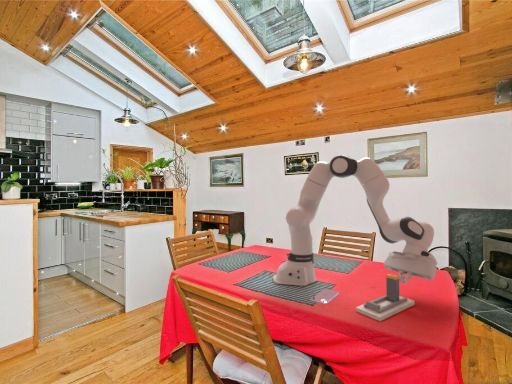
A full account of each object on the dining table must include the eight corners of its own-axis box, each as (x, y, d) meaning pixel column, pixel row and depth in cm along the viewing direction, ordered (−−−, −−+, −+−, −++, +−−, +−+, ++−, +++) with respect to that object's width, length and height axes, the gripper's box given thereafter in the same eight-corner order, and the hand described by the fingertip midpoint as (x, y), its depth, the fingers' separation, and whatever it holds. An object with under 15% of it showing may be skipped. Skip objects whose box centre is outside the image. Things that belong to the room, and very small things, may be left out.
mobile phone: (340, 291, 126) (326, 302, 114) (340, 293, 126) (326, 305, 114) (324, 288, 131) (309, 298, 119) (324, 290, 131) (309, 300, 119)
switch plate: (391, 296, 120) (390, 287, 120) (414, 304, 112) (414, 294, 112) (356, 311, 107) (355, 301, 107) (379, 321, 99) (379, 310, 99)
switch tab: (389, 297, 115) (389, 273, 115) (399, 300, 111) (399, 276, 111) (386, 299, 113) (385, 274, 113) (396, 302, 110) (395, 277, 110)
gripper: (388, 246, 129) (376, 271, 123) (436, 254, 112) (424, 284, 106) (393, 254, 131) (382, 279, 126) (441, 264, 114) (430, 293, 109)
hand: (402, 281), depth 116 cm, fingers closed
